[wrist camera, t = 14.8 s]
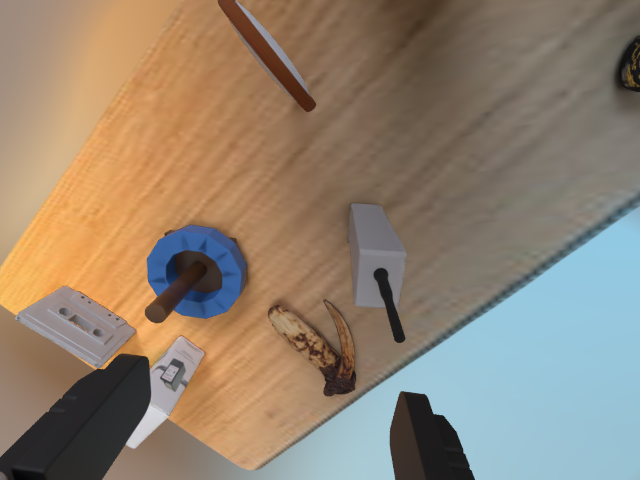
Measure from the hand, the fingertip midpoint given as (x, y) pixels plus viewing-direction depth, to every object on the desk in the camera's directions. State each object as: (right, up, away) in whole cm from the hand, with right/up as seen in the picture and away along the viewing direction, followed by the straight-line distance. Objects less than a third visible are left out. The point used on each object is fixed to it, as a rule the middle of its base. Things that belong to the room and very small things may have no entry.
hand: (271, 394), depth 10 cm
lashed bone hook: (+2, -9, +38) cm, 39 cm away
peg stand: (-15, +1, +34) cm, 37 cm away
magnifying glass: (-1, +23, +26) cm, 35 cm away
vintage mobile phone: (+7, +7, +31) cm, 33 cm away
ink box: (-21, -14, +40) cm, 47 cm away
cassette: (-31, -6, +38) cm, 50 cm away
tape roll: (-14, +1, +33) cm, 36 cm away
